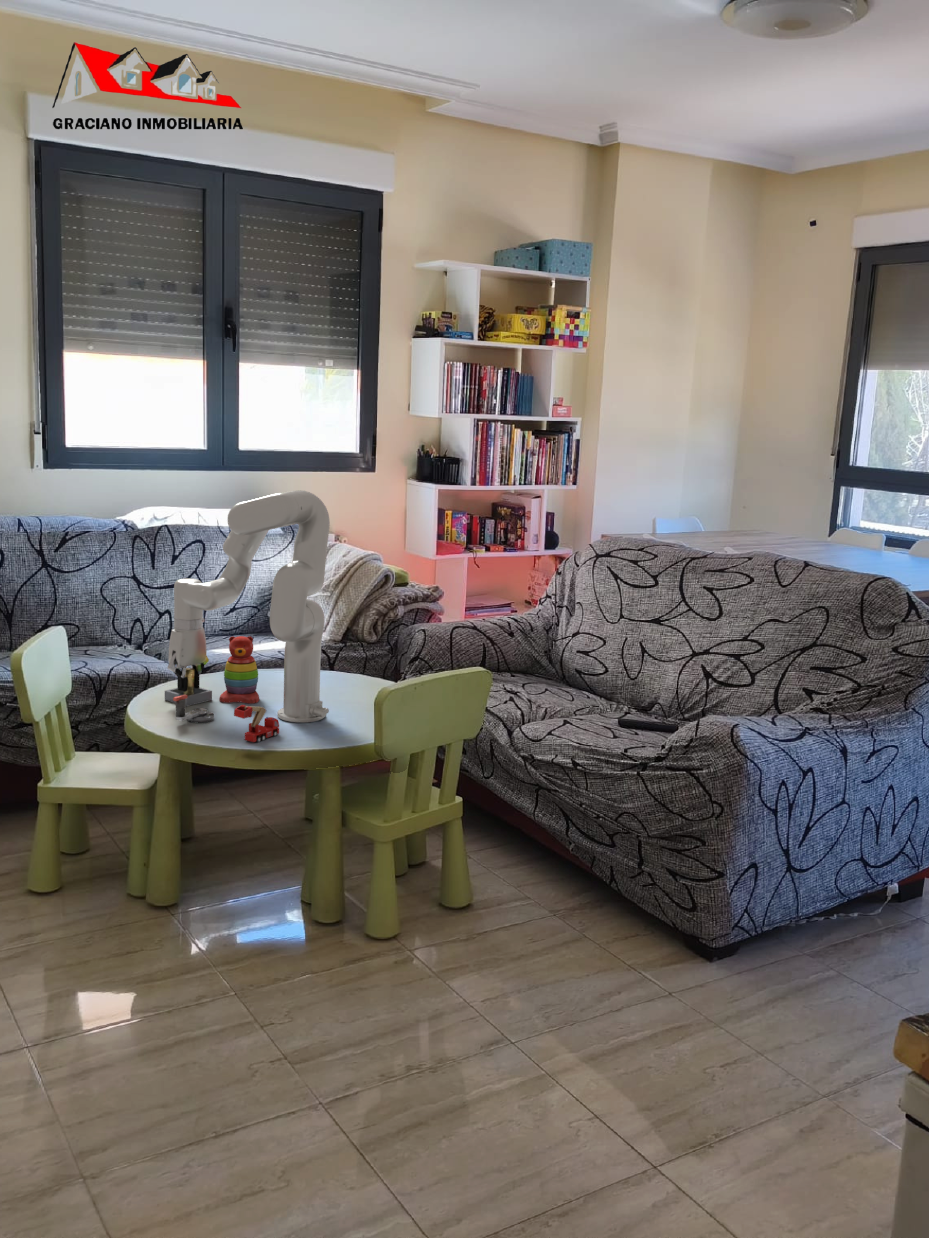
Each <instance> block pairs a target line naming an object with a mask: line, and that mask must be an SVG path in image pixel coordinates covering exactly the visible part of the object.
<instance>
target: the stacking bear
mask: <svg viewBox="0 0 929 1238" xmlns="http://www.w3.org/2000/svg"><path fill="white" fill-rule="evenodd" d="M228 641H229V645H228V650H229V653H230V655H231V656H229V657H228V658H227V661H226V663H225V667H224V668H225V669H224V672H223V680H224V684H225V688H226V690H225V691H223V692H222V693H221V694H220V696H219V698H218V700H219V702H220V703H225V704H228V703H242V704H243V703H244V704H251V705H252V704H257V703H259V701H260V696H259V693H258V691H257V687H258V681H259V670H258V668H257V662H256V660H255V658H254V656H253V655H252V654H253V651H254V643H253V642H254V637H252V636H250V635H249V636H243V635H242V636H230V637H229V639H228Z"/></svg>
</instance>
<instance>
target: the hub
mask: <svg viewBox="0 0 929 1238" xmlns="http://www.w3.org/2000/svg"><path fill="white" fill-rule="evenodd" d="M214 720H215V713H214V712H211V711H210V710H209V711H208V710H207V715H204V716H197V717H193V718H190V719H187V720H186V721H187V722H189V723H193V724H194V723H195V724H204V723H210V722H212V721H214Z"/></svg>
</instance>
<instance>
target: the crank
mask: <svg viewBox="0 0 929 1238" xmlns="http://www.w3.org/2000/svg"><path fill="white" fill-rule="evenodd" d="M186 698H187V695H181V696H177V697H174V698H173V701H176V703H175V718H176V719H175V720H176V721H180V722H182V721H187V719H190V718H193V717H197V716H204V715H207V711H208V709H207V708H202V707H201V708H194V709H193V710H190V711H187V712H186V706H185V699H186Z"/></svg>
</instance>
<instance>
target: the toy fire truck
mask: <svg viewBox="0 0 929 1238" xmlns="http://www.w3.org/2000/svg"><path fill="white" fill-rule="evenodd" d="M253 712H255V714H254V716H253V719H252V722H249V723H248V731H246V732H244V740H245V741H246V742H251V743H256V742H257V743H260V742H261V741H265V740H266V739H269V738H270V737H277V736H278V735H279V734H280V721H279V719H278V718H276V717H271V716H270V717H269V716H266V717H265V718H264V716H265V714H266V713H267V710H266V708H265V707H264V706H260V705H259V706H253V705H251V706H250V705H249V706H248V705H246V704H241V705H239V706H237V707H236V708H234V712H233V713H234V714H233V716H234V717H236V718H240V719H242V720H243V719H247V718H251V717H252V715H253ZM263 718H264V721H263V722H264V725H261V724H260V723H261V721H262V720H263Z"/></svg>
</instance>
